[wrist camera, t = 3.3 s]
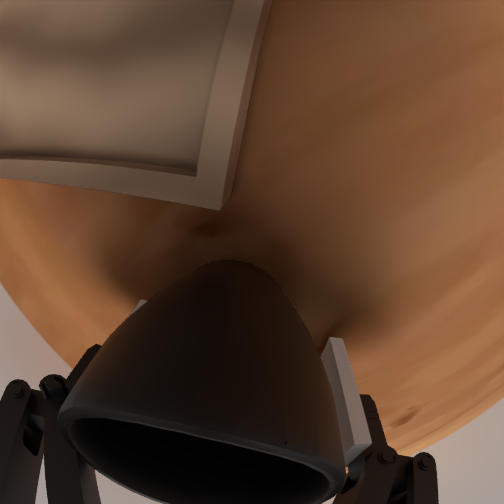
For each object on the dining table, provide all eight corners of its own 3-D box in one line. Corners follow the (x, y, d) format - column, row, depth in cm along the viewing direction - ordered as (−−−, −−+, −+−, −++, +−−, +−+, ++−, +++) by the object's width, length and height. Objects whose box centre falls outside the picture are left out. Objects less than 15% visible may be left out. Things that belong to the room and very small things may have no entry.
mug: (246, 409, 17) (233, 530, 9) (128, 280, 14) (22, 413, 5) (358, 369, 15) (391, 506, 6) (259, 199, 12) (226, 364, 3)
